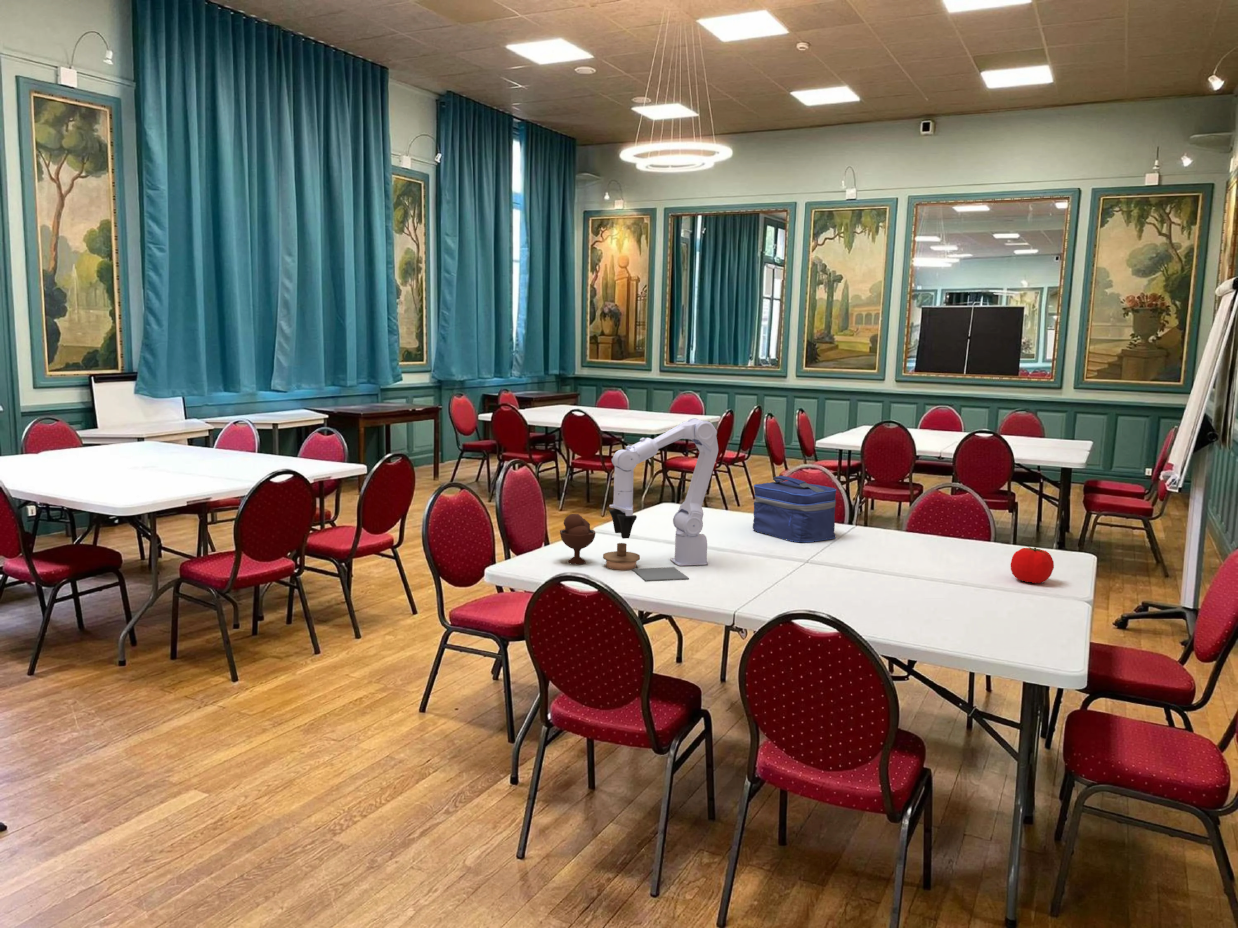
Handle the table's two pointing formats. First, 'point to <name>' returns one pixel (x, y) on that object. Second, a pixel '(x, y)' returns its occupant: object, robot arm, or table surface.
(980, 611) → the table surface
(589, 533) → the ice cream bowl
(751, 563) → the table surface
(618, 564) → the dish
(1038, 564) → the tomato
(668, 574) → the mat
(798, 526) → the lunch bag
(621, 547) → the lid
